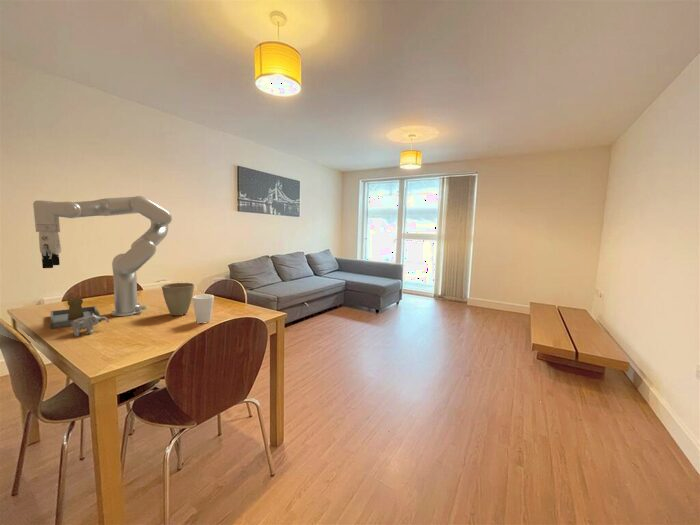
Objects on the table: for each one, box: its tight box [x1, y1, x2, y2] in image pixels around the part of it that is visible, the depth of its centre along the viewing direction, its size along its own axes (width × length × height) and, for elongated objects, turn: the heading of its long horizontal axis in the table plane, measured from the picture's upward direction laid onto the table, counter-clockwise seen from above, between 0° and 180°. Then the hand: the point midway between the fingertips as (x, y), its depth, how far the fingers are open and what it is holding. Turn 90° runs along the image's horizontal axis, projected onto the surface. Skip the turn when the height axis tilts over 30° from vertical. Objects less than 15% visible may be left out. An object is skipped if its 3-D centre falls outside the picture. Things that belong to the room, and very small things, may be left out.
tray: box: [50, 305, 102, 330], centre depth 139 cm, size 24×17×2 cm
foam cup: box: [192, 293, 215, 324], centre depth 144 cm, size 10×9×13 cm
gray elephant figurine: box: [70, 313, 110, 338], centre depth 124 cm, size 9×12×8 cm
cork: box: [67, 297, 84, 320], centre depth 135 cm, size 6×6×11 cm
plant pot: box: [161, 282, 195, 316], centre depth 154 cm, size 15×15×16 cm
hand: (51, 266), depth 130 cm, fingers open, 9 cm apart
